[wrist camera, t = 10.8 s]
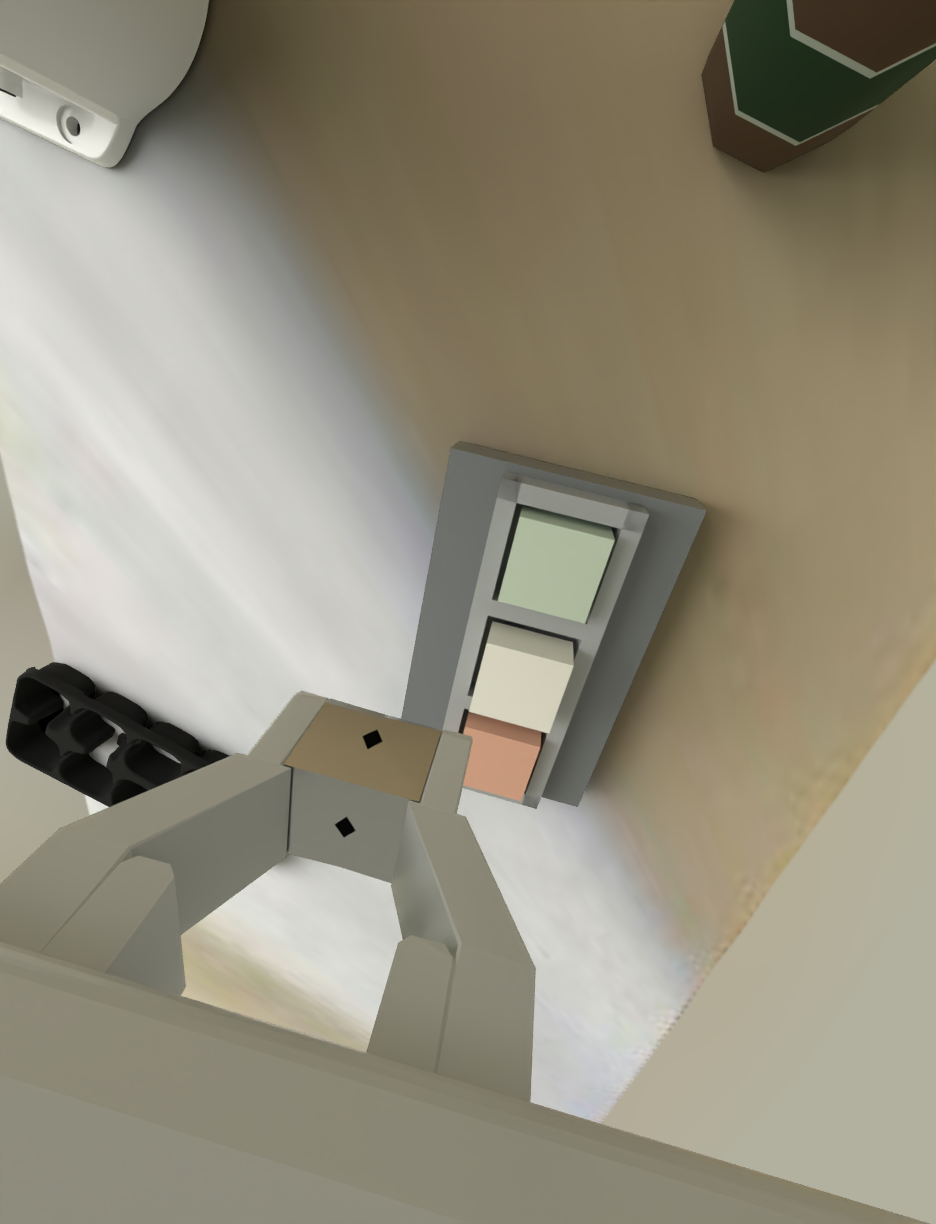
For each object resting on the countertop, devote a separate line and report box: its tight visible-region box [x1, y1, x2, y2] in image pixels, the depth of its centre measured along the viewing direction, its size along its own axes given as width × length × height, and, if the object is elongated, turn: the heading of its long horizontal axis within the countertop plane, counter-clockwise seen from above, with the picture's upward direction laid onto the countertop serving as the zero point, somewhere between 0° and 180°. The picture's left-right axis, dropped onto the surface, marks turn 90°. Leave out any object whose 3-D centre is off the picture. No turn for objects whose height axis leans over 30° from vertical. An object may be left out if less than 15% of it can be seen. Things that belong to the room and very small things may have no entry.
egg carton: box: [6, 662, 229, 807], centre depth 52 cm, size 18×30×4 cm, turn 71°
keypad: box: [401, 441, 707, 809], centre depth 38 cm, size 16×26×5 cm, turn 168°
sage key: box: [498, 505, 615, 624], centre depth 32 cm, size 6×6×3 cm
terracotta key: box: [463, 712, 541, 801], centre depth 40 cm, size 6×6×3 cm
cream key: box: [469, 621, 574, 733], centre depth 35 cm, size 6×6×3 cm
